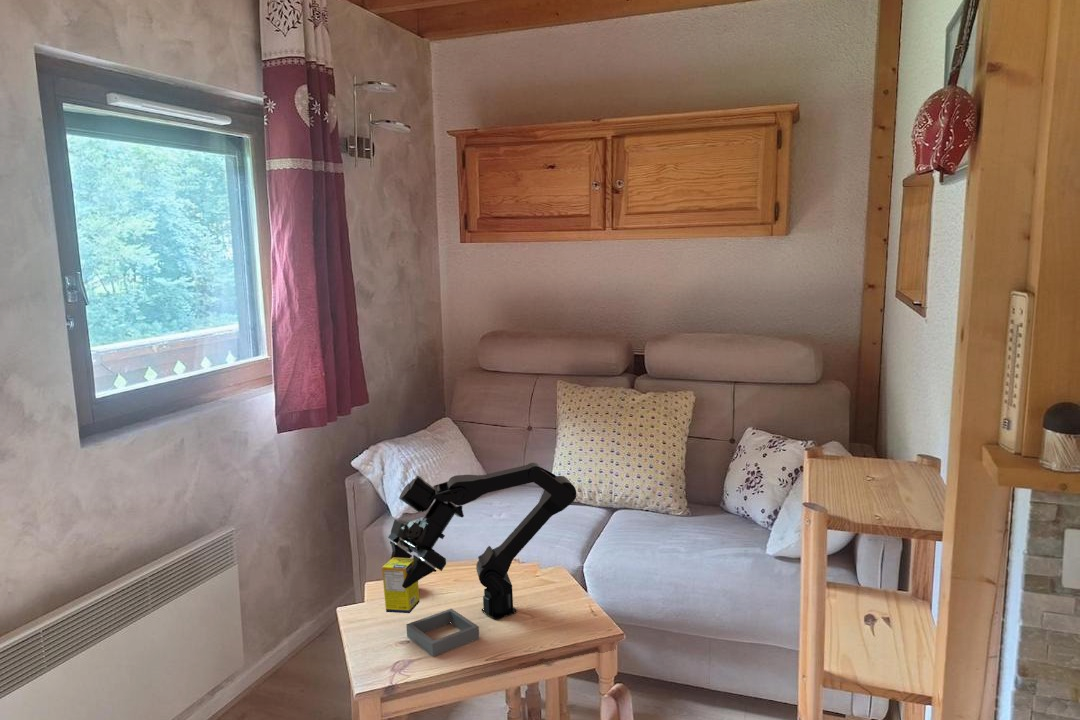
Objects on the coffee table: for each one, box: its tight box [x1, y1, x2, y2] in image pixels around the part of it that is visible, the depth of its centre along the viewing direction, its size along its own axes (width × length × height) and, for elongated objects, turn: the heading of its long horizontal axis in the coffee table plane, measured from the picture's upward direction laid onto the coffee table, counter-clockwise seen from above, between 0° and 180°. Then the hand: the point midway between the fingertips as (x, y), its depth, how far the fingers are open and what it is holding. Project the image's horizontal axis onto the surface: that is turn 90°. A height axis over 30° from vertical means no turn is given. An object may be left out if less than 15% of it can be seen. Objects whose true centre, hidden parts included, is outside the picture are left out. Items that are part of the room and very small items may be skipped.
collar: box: [406, 608, 480, 658], centre depth 170 cm, size 12×12×3 cm
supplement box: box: [381, 557, 420, 614], centre depth 171 cm, size 6×6×11 cm
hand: (395, 581), depth 170 cm, fingers closed on supplement box, 8 cm apart
